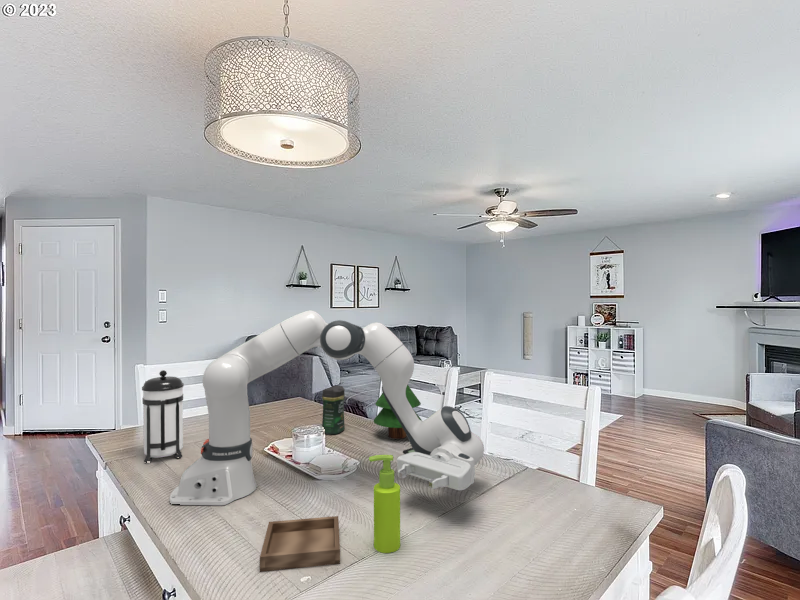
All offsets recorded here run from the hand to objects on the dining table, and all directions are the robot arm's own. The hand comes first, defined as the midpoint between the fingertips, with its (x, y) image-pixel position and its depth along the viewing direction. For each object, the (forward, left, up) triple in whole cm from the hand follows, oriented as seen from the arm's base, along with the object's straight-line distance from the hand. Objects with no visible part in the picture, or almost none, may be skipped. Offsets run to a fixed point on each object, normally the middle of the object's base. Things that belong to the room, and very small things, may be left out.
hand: (415, 479), depth 106 cm
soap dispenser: (-8, -8, -11) cm, 16 cm away
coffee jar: (-18, +77, -11) cm, 80 cm away
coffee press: (-76, +58, -11) cm, 97 cm away
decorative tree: (+7, +67, -11) cm, 68 cm away
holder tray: (-27, -6, -11) cm, 29 cm away
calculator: (+11, +41, -11) cm, 44 cm away
